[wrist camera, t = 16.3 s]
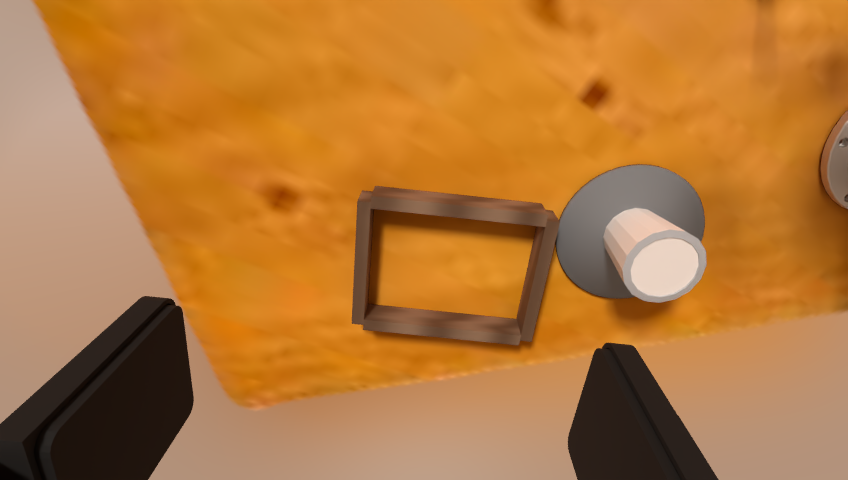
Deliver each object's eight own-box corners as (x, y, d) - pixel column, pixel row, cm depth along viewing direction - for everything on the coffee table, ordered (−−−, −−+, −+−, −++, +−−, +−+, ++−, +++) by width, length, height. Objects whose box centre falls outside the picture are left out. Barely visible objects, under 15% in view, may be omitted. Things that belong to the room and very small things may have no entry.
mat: (723, 172, 43) (726, 174, 43) (675, 302, 49) (677, 304, 49) (573, 156, 43) (575, 158, 43) (542, 288, 49) (543, 291, 48)
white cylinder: (609, 277, 47) (636, 315, 41) (587, 220, 45) (612, 251, 39) (677, 249, 46) (716, 284, 40) (658, 189, 44) (696, 216, 37)
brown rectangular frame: (553, 204, 45) (561, 216, 42) (525, 329, 51) (530, 346, 48) (362, 184, 45) (357, 194, 42) (356, 312, 51) (351, 328, 48)
